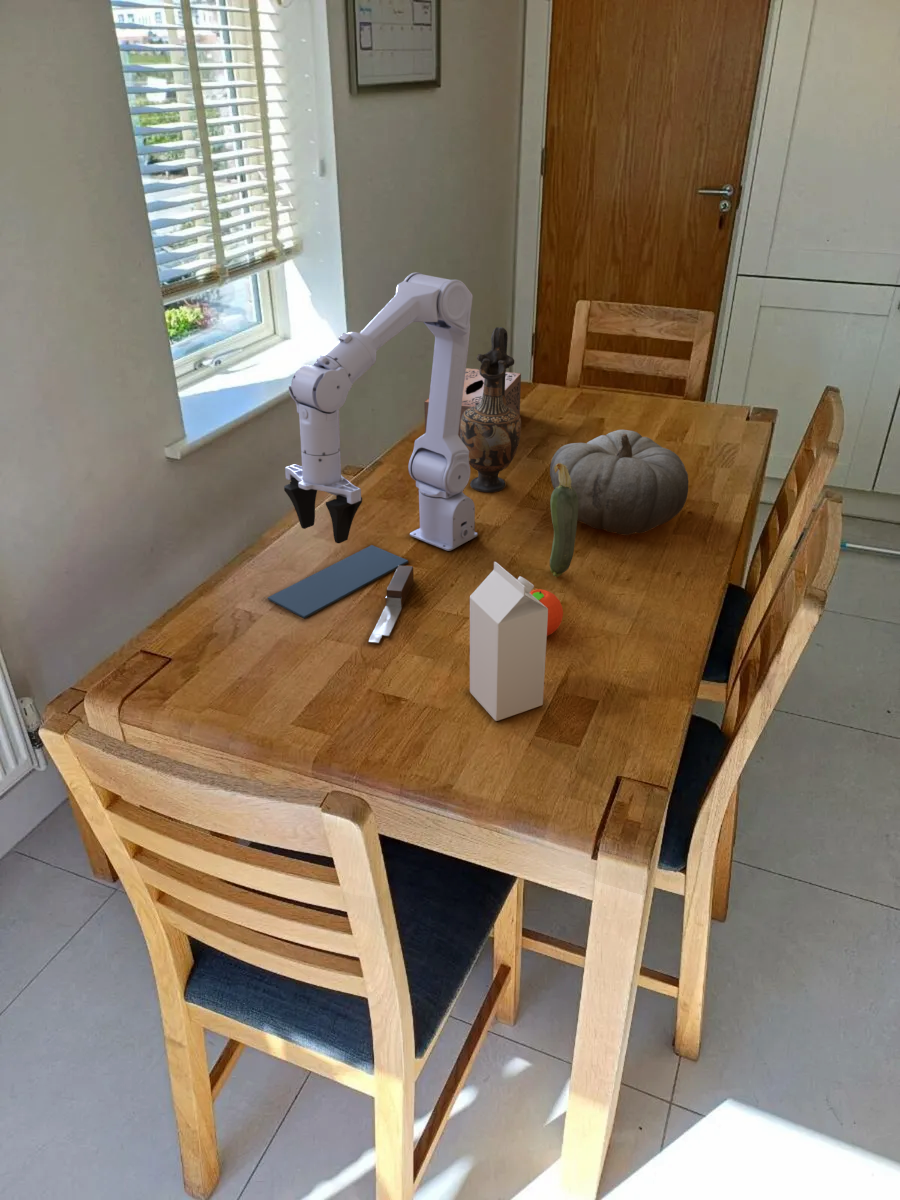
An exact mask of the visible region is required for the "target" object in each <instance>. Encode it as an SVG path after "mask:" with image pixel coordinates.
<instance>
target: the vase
mask: <svg viewBox="0 0 900 1200" xmlns="http://www.w3.org/2000/svg"><path fill="white" fill-rule="evenodd" d="M508 339H509V338H508V331H507V329H506V328H505V327H499V326H498V327H497V326H496V327H495V328H494V329H493V331H492V333H491V337H490V340H491V341H490V342H491V347H490V350H489V351H488V352H486V353H484V354H482V353H479V354H477V356H476V359H477V361H478V362H480V367H479V373H480V375H481V376H482V377H483V378H485V379H484V390H483V396H482V400H481V402H480V404H479V405H476V406H473V407H470V408H468V409H467V410H466V411H465V412H464V413H463V415H462V418H461V426H460V433H461V440H462V442H463V443H464V444H465V446H466V447H467V448H468V450H469V465H470V467H472V469H474V470H475V471H477V477H475V478H473V479H471V481H470V484H469V485H470V486H469V487H471V489H473V490H474V491H475V490H476V491H478V492H482V493H496V492H497V493H498V492H500V491H502V490H504V489H505V488H506V486H507V484H506V481H505V480H504V479H503V478H502V477H499V474H500V472H502V471H504V470H505V469H506V468H508V467H509V465H510V464H511V463H512V461H513V460H514V459H515V456H516V453H517V450H518V448H519V444H520V441H521V436H522V435H521V434H522V418H521V414H520V415H519V414H518V413H517V412H516V411H515V410H513V409H512V408H510V407H507V405H506V400H505V373H506V372H507V369H509V368H510V367H513V366H514V365H515V359H514V358H513V357H512V356H510V355H508V354H507V353H508V352H507V351H508V341H509V340H508Z"/></svg>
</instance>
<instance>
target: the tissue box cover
mask: <svg viewBox="0 0 900 1200" xmlns="http://www.w3.org/2000/svg"><path fill="white" fill-rule="evenodd" d="M479 370H480V368H479V369H478V368H468V367H466V371H465V380H464V388H463V397H462V406H461V414H460V423H459V432H458V436H459V438H460V439H461V433H460V426H461V418H462V415H463V413H464V412H465V411H466V410H467V409H468V408H470V407H473V406H476V405H479V404H480V402H481V400H482V396H483V390H484V379H485V378H483V377H482V376H481V375H480V373H479ZM521 381H522V373H521V372H510V371H506V373H505V400H506V405H507V407H510V408H512V409H513V410H515V411H516V412H517V413H518V414H519V415H520V416H521V414H520V413H521V392H522V391H521V387H522V382H521ZM423 404H424V406H423V407H424V434H425V433H426V426H427V416H428V406H429V397H427V398H426V399H425V401H424V402H423Z"/></svg>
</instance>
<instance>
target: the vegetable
mask: <svg viewBox="0 0 900 1200" xmlns="http://www.w3.org/2000/svg"><path fill="white" fill-rule="evenodd" d="M566 467H567V466H565V465H563V464H562V463H558V464H556V465H555V467H554V470H555V473H556V472H557V471H558V469H559V472H558V479H559V482H560V484H559V485H560V486H558V487H556V488H555V489H554V488H553V490H552V492H551V495H550V502H549V503H550V514H551V523H552V528H553V539H552V545H551V550H550V551H551V553H550V558H549V568H550V573H551V574H552V576H553V577H556V578H558V577H561V576H562V575H563V574H564V573H565V572H567V571H568V569H569V568H570V566H571V563H572V561H573V557H574V552H575V544H576V537H577V527H578V521H577V519H578V496H577V493H576V491H575V489H574V488H573V487H571V482H572V481H571V477H570V475H569V473H568V469H567V468H566Z"/></svg>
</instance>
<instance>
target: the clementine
mask: <svg viewBox="0 0 900 1200" xmlns="http://www.w3.org/2000/svg"><path fill="white" fill-rule="evenodd" d="M530 594H531V595H533V596H534V597H535V598H536V599H537V600H539V601H540V602H541V603H542V604H543V605H544V606H546V607H547V608H548V621H547V637H548V636H550V635H552V634H553V633H554V632H556V631H557V630H558V629H559V627H560V625H561V624H562V621H563V618H564V611H563V610H564V609H563V605H562V603H561V601H560V599H559V598H558V597H557V596H556V595H555V594H554V593H553V592H551V591H549V590H547V589H541V588H540V589H539V588H537V589H532V590H531V592H530Z"/></svg>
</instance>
